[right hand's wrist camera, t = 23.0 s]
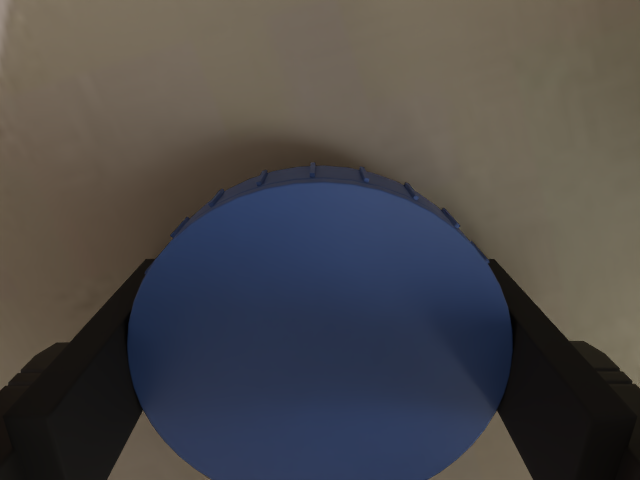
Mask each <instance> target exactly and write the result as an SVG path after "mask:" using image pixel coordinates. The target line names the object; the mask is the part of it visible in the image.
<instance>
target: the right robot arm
mask: <svg viewBox="0 0 640 480" xmlns="http://www.w3.org/2000/svg"><path fill="white" fill-rule="evenodd" d="M154 260H155V259H146V260H145V261H144V262H143V263H142V264H141V265H140V266H139V267H138V268H137V269H136V271H135V272H134V273H133V274H132V275H131V276H130V277H129V278H128V279H127V280H126V281H125V283H124V284H123V285H122V286H121V287H120V288H119V289H118V290H117V291H116V292H115V293H114V295H113V296H112V297H111V298H110V299H109V300H108V301H107V302H106V303H105V304H104V306H103V307H102V308H101V309H100V310H99V311H98V312H97V313H96V314H95V315H94V316H93V318H92V319H91V320H90V321H89V322H88V323H87V324H86V325H85V326H84V327H83V329H82V330H81V331H80V332H79V333H78V334H77V335H76V336H75V337H74V338H73V339H72V341H71V342H70V343H55V344H54V345H52V346H50V347H49V348H47V349H45V350H44V351H42V352H40V353H39V354H37V355H35V356H34V357H33V358H32V359H31V360H30V361H29V362H28V363H27V364H26V365H25V366H24V367H23V368H22V369H21V373H17V374H16V375H15V377H14V378H13V379H12V380H11V381H10V382H9V383H8V386H5V387H4V388H3V389H2V390H1V391H0V480H107V478H108V477H109V475H110V473H111V471H112V469H113V467H114V465H115V463H116V461H117V459H118V457H119V455H120V453H121V451H122V450H123V448H124V446H125V444H126V442H127V440H128V438H129V436H130V434H131V432H132V430H133V428H134V426H135V424H136V423H137V421H138V419H139V417H140V415H141V413H142V411H143V409H142V407H141V405H140V402H139V400H138V397H137V395H136V392H135V390H134V387H133V383H132V379H131V374H130V369H129V364H128V353H127V337H128V323H129V319H130V315H131V311H132V306H133V302H134V299H135V297H136V295H137V292H138V290H139V287H140V285H141V282H142V280H143V278H144V277H145V275H146V274H144V273H145V271H146V270H147V268H148V267H149V266H150V265H151V264H152V263H153V262H154ZM488 260H489V262H490V263H488V265H489V266H490V268H491V270H492V272H493V274H494V275H495V277H496V279H497V281H498V283H499V284H500V287H501V289H502V292H503V295H504V298H505V300H506V303H507V306H508V310H509V315H510V320H511V325H512V338H513V354H512V362H511V369H510V375H509V379H508V382H507V386H506V389H505V393H504V395H503V397H502V399H501V402H500V404H499V406H498V408H497V411H498V413H499V415H500V417H501V419H502V421H503V422H504V424H505V426H506V428H507V430H508V432H509V434H510V436H511V438H512V440H513V442H514V444H515V446H516V448H517V449H518V451H519V453H520V455H521V457H522V459H523V461H524V463H525V465H526V467H527V469H528V471H529V473H530V475H531V476H532V478H533V480H640V388H639V387H638V386H637V385H636V384H632V380H631V379H630V378H629V377H628V376H627V375H626V374H625V373H624V372H620V368H619V367H618V366H617V365H616V364H615V363H614V362H613V361H612V360H611V359H610V358H609V357H608V356H607V355H606V354H604V353H603V352H601V351H599V350H598V349H596V348H594V347H593V346H591V345H589V344H588V343H586V342H584V341H568V339H567V338H566V337H565V336H564V335H563V334H562V333H561V332H560V331H559V330H558V328H557V327H556V326H555V325H554V324H553V323H552V322H551V321H550V320H549V319H548V318H547V316H546V315H545V314H544V313H543V312H542V311H541V310H540V309H539V308H538V307H537V305H536V304H535V303H534V302H533V301H532V300H531V299H530V298H529V297H528V296H527V295H526V293H525V292H524V291H523V290H522V289H521V288H520V287H519V286H518V285H517V284H516V282H515V281H514V280H513V279H512V278H511V277H510V276H509V275H508V274H507V273H506V272H505V270H504V269H503V268H502V267H501V266H500V265H499V264H498V263H497V262H496V261H495V260H494V259H488Z"/></svg>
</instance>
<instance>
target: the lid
mask: <svg viewBox="0 0 640 480" xmlns="http://www.w3.org/2000/svg"><path fill="white" fill-rule="evenodd" d="M459 227H460V225H459V224H458V223H457V221H456V220H455V219H454V218H453V217H452V216H451V215H450V214H449V213H448V211H447V210H446V209H445V208H443V209H442V210H440V209H439V208H438V207H437V206H436V205H434V204H433V203H432V202H430V201H429V200H427V199H426V198H425V197H423V196H422V195H420V194H419V193H418V192H416V191H414V190H413V188H412V187H411V186H410V184H408V183H406V182H405V184H404V185H402V184H400V183H398V182H397V181H394V180H391V179H388V178H386V177H383V176H380V175H377V174H375V173H371V172H366V170H365V168H364V167H360V168H359V170H357V169H353V168H347V167H335V166H315V162H312V163H311V164H310V166H304V167H294V168H288V169H283V170H277V171H272V172H269V173H268V172H267V170H264V171H262V173H261V174H260V176H257V177H254V178H251V179H248V180H246V181H244V182H242V183H240V184H238V185H236V186H234V187H232V188H229V189H227V190H226V191H224V190H223V189H221V190H219V191H218V193H217V194H216V195H215V196H214V198H213V199H212V200H211V201H209V202H208V203H207V204H206V205H204V206H203V207H202V208H201V209H200V210H199V211H198V212H197V213H195V214H194V215H193V216H192V217H191V218H190V219H189V218H188V217H186V218H185V219H184V221H183V222H182V223H181V224H180V225H179V226H178V227H177V228H176V229H175V231H174V232H173V233H172V234H171V235H170V236H171V237H172V238H173V239H172V240H171V241H170V242H169V244H168V245H167V246H166V247H165V248H164V250H163V251H162V252H161V253H160V254H159V255H158V257H157V258H156V259H155V260H154V262H153V263H152V264H151V265H150V266H149V267H148V268H147V270H146V271H145V273H144V274H146V275H145V277H144V278H143V280H142V282H141V285H140V287H139V290H138V292H137V295H136V297H135V299H134V302H133V306H132V311H131V315H130V319H129V323H128V337H127V353H128V364H129V369H130V374H131V379H132V383H133V387H134V390H135V392H136V395H137V397H138V400H139V402H140V405H141V407H142V409H143V410H144V412H145V414H146V416H147V417H148V419H149V421H150V423H151V424H152V426H153V427H154V428H155V430H156V431H157V432H158V434H159V435H160V436H161V437H162V439H163V440H164V441H165V442H166V443H167V444H168V445H169V446H170V447H171V448H172V449H173V450H174V451H175V452H176V453H177V455H178V456H180V457H181V458H182V459H183V460H185V461H186V462H187V463H188V464H190V465H191V466H192V467H193V468H195V469H196V470H197V471H199V472H201V473H202V474H204V475H205V476H207V477H209V478H210V479H212V480H428V479H429V478H431V477H433V476H435V475H436V474H438V473H440V472H441V471H442V470H444V469H445V468H446V467H448V466H449V465H450V464H452V463H453V462H454V461H456V460H457V459H458V458H459V457H460V456H461V455H462V454H463V453H464V452H465V451H466V450H467V449H468V448H470V447H471V446H472V444H473V443H474V442H475V441H476V440H477V438H478V437H479V436H480V435H481V434H482V432H483V431H484V430H485V428H486V427H487V425H488V424H489V422H490V420H491V419H492V417H493V416H494V414H495V412H496V411H497V408H498V406H499V404H500V402H501V399H502V397H503V395H504V393H505V389H506V386H507V382H508V379H509V375H510V369H511V362H512V354H513V338H512V325H511V320H510V315H509V310H508V306H507V303H506V300H505V298H504V295H503V292H502V289H501V287H500V284H499V283H498V281H497V279H496V277H495V275H494V274H493V272H492V270H491V268H490V266H489V265H488V263H490V262H489V260H488V259H487V258H486V257H485V255H484V254H483V253H482V252H481V251H480V250H479V249H478V248H477V246H476V245H475V244H474V243H473V242H472V241H469V240H468V239H467V237H466V236H465V235H464V234H463V233H462V232H461V230H460V229H459Z"/></svg>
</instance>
